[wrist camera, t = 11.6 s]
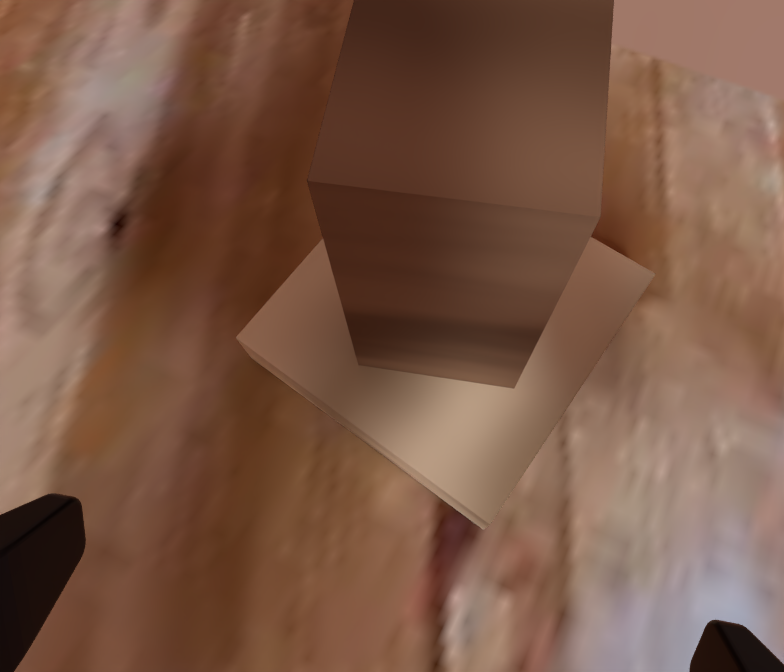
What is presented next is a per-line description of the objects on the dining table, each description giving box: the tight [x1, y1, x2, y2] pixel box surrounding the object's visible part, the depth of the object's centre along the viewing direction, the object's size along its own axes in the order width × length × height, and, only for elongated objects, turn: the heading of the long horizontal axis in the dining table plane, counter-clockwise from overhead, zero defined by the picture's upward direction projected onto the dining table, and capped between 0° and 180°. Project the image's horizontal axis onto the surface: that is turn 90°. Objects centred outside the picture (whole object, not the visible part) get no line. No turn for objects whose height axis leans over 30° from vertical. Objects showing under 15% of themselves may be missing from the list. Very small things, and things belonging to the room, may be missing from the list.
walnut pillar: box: [307, 0, 614, 389], centre depth 16 cm, size 5×5×10 cm
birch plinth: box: [236, 237, 655, 530], centre depth 22 cm, size 10×10×2 cm
